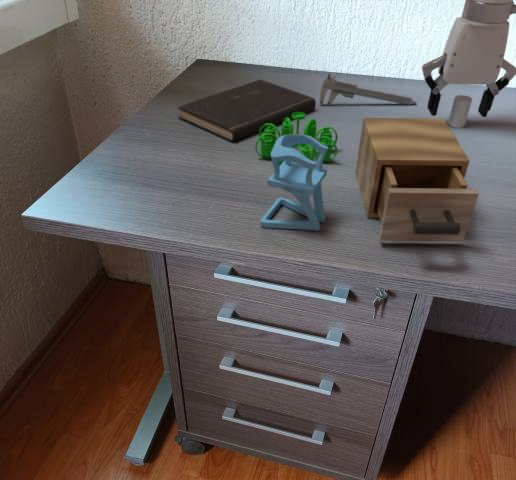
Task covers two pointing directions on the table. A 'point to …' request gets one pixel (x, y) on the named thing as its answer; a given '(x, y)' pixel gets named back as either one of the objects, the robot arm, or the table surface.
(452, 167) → the drawer
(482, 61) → the robot arm
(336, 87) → the caliper
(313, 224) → the chair
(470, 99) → the white cylinder
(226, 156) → the table surface
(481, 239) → the table surface
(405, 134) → the cabinet
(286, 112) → the hardcover book
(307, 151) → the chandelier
